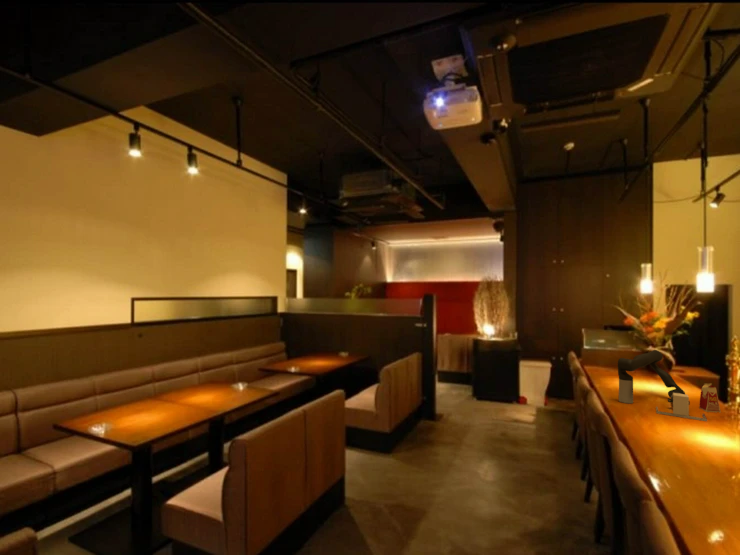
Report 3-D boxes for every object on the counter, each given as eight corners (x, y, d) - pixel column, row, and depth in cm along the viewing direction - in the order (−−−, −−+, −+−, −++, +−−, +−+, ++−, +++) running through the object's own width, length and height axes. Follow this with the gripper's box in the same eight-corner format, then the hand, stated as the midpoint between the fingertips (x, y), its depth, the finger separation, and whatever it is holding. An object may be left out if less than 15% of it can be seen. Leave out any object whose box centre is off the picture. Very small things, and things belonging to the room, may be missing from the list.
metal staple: (656, 413, 273) (656, 411, 273) (656, 408, 284) (655, 406, 284) (707, 421, 257) (707, 419, 257) (704, 415, 268) (704, 413, 268)
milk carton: (721, 412, 275) (720, 384, 276) (706, 411, 277) (705, 383, 278) (712, 408, 284) (712, 381, 285) (698, 407, 286) (697, 380, 286)
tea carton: (673, 415, 268) (673, 395, 268) (673, 412, 275) (672, 392, 275) (688, 417, 264) (688, 397, 264) (687, 414, 270) (687, 394, 270)
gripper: (666, 392, 292) (667, 397, 278) (689, 395, 285) (691, 400, 271) (666, 402, 292) (667, 407, 278) (689, 405, 285) (691, 411, 271)
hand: (679, 404), depth 274 cm, fingers closed
